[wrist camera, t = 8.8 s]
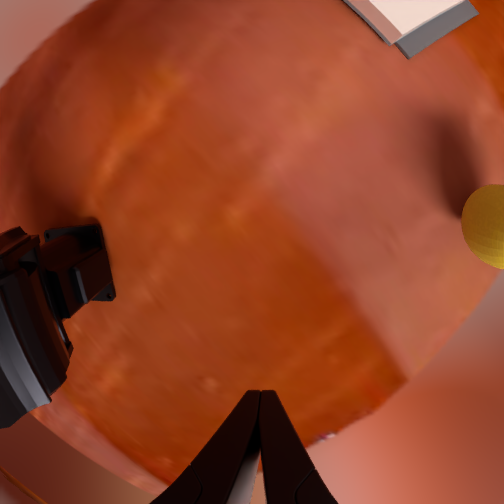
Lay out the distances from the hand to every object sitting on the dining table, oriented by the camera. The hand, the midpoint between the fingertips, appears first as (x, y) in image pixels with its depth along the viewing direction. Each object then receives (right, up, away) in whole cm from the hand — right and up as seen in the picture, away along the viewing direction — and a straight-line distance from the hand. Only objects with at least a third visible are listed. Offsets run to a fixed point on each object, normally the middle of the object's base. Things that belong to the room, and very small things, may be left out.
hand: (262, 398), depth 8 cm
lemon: (+17, +8, +10) cm, 21 cm away
